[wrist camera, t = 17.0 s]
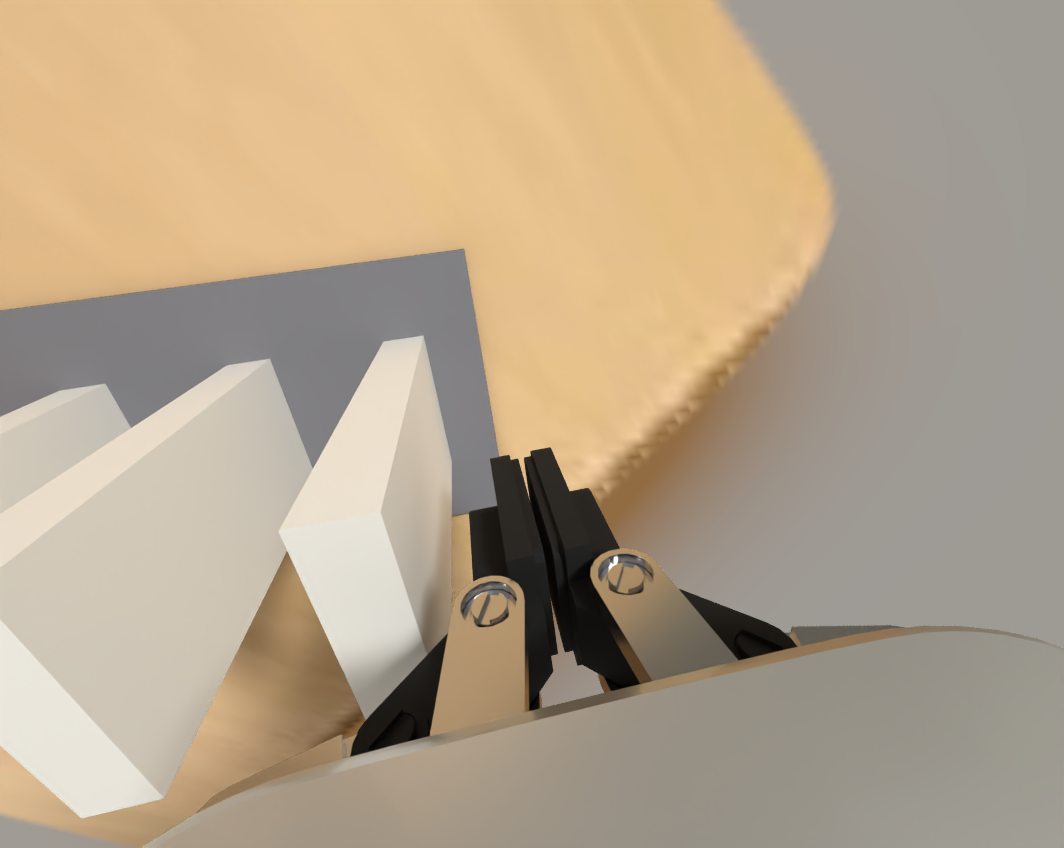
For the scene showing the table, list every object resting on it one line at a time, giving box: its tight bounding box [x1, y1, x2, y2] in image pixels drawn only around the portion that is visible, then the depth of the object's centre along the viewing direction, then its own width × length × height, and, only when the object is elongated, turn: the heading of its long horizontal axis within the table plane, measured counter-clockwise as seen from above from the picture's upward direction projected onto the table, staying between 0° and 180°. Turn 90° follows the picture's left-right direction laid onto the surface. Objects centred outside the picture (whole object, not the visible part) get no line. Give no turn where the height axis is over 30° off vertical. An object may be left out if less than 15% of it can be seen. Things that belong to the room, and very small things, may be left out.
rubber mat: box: [0, 249, 499, 516], centre depth 18 cm, size 36×12×1 cm, turn 97°
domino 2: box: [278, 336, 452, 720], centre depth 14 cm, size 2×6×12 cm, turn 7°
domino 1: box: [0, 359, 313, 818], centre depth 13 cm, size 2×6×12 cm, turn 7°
